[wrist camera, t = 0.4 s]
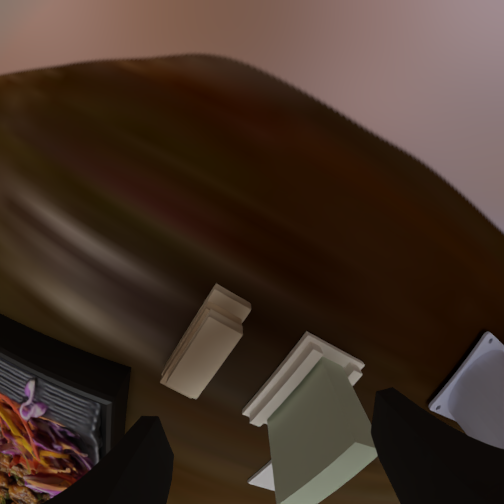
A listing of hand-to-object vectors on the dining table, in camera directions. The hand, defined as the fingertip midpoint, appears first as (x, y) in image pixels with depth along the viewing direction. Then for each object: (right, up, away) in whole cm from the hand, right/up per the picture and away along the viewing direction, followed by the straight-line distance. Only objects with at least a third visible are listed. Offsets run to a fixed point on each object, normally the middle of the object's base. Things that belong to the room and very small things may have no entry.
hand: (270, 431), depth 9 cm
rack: (+3, -4, +11) cm, 12 cm away
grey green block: (+3, -4, +11) cm, 12 cm away
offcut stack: (-4, +1, +11) cm, 11 cm away
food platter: (-27, -20, +15) cm, 37 cm away
